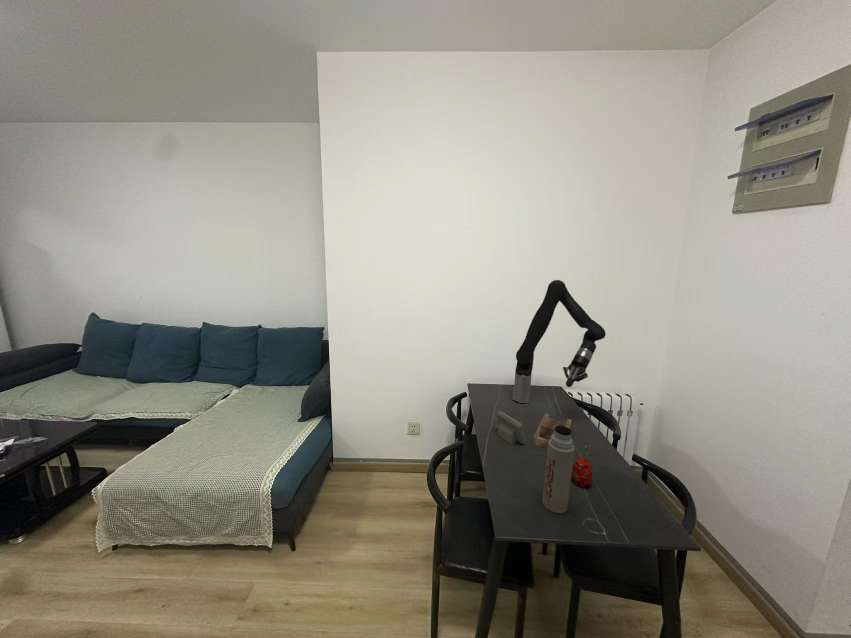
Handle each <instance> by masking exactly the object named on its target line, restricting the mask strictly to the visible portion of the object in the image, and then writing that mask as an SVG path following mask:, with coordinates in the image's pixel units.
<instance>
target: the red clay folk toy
mask: <svg viewBox="0 0 851 638" xmlns="http://www.w3.org/2000/svg"><path fill="white" fill-rule="evenodd" d="M584 449H587V451H586V455H585V458H584V459H583V458H582V457H578V458H577V459H576V460H575V462H574V463H573V465H572V473H571V481H573V482H574V484H575V485H576V486H579V488H585V487H589V486H590V485H591V483H592V480H593V471H592V467H591V464H590V463H589V462H588V458H587V457H589V451H590V449H591V444H589V445H588V446H587V445H584Z"/></svg>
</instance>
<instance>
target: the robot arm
mask: <svg viewBox="0 0 851 638" xmlns="http://www.w3.org/2000/svg"><path fill="white" fill-rule="evenodd" d="M559 302H560V303H561V305H563V306H564V308H565V309H566V311H567V312H568V314H569V315H570V316H571V318H572V319H573V321H574V322H575V323H576V324H577V325H578V327H580V328H581V329H587V330H586V331H585V332H584V334H583V337H582V343H581V344H580V346H579V347H578V350H577V351H576V352H575V354H574V357H573V358H572V360H571V362H570V364H569V365H568V366H563V367H562V370H563V373H564V376H565V378H566V381H565V386H566V387H567V388H571V387H572V386H573V384H574V382H577V383H578V382H581V381H583V380H585V379H588V378H589V374H588V373H587V372H586V371H587V368H588V366H589V364H590V362H591V360H592V358H593V355H594V353H595V351H596V350H597V345H596V342H597V341H601V340H603V339H605V337H606V331H605V329H604V327H603V326H602V325H600V324H599V323H598V322H596V321H595V320H593V319H592V318H591V316H590V315H589V314H588V313H587V312H586V311H585V309H584V308H583V307H582V306H581V305H580V304H579V303H578V302H577V301H576V300H575V299H574V298H573V296H572V294H571V293H570V292H569V290H568V288H567V287H566V284H565V282H564V281H562V280H560V279H554V280H552V281H551V282H550V283H549V284H548V286H547V289H546V292H545V295H544V298H543V301H542V302H541V304H540V306H539V307H538V309H537V311H536V312H535V314H534V316H533V317H532V319H531V321H530V324H529V327H528V329H527V332H526V335H525V337H524V340H523V342H522V344H521V345H520V347H519V348H518V350H517V351H516V353H515V359H516V367H515V372H514V384H513V385H512V395H511V396H512V398H511V399H514V400H515V401H517V402H521V403H526V402H530V395H531V385H532V383H531V382H532V373H533V368H534V367H533V366H534V356H535V350H536V348H537V346H538V344H539V342H540V341H541V339H542V338H543V336H544V335H545V333H546V332H547V330H548V328H549V326H550V323H551V321H552V318H553V316H554V312H555V310H556V307H557V305H558V304H559ZM568 372H569V374H568ZM515 401H514V402H515ZM517 402H516V403H517Z"/></svg>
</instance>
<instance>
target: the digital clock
mask: <svg viewBox="0 0 851 638" xmlns="http://www.w3.org/2000/svg"><path fill="white" fill-rule="evenodd" d="M496 416H497V417H496V419H497V421H498V426H497V430H496V435H497V436H498V437H500V439H502V440H504V441H505V442H507V444H510V445H511V444H514V443H517V442H518V443H520V444H521V445H525V444H526V441H527V440H526V439H527V438H526V435H525V431H524V427H523V424H522V423H521V422H520V421H518V420H516V419H514V418H513V417H512V416H509V415H508V414H506V413H504V412H503V411H501V410H498V411H497V412H496Z"/></svg>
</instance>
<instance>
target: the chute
mask: <svg viewBox="0 0 851 638" xmlns="http://www.w3.org/2000/svg"><path fill="white" fill-rule="evenodd" d="M548 417H549V418H550V414H549V413H544V415H543V417H542V418H541V421H540V422H539V425H538V427H537V430H536V431H535V433H534V435H533V440H532V446H536V447H537V446H538V447H540V448H544V449H546V450H548V442H549V439H545V438H542V437H539V435H540V425H541V424H542V423H543V422H544V421H545V420H546V419H547V418H548ZM572 422H573V421H572V419H569V418H567V419H566V423H565V425H564V426H565V427H567V428H569V429H570V430H571V427H572Z"/></svg>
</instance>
